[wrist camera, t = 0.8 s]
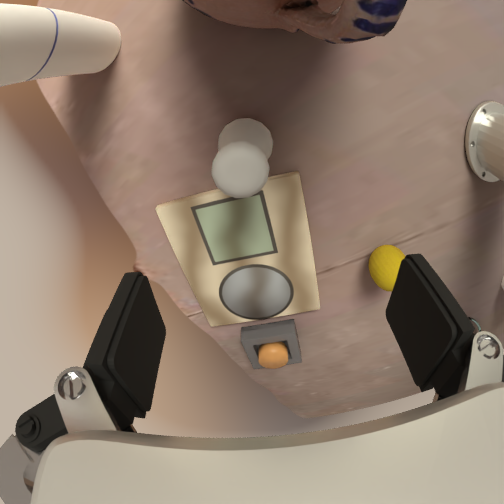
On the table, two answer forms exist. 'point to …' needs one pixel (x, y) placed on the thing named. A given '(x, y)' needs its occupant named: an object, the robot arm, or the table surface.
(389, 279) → the lemon
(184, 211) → the picture board
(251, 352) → the button housing
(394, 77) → the table surface
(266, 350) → the button
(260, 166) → the salt shaker
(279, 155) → the table surface
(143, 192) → the table surface
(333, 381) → the table surface
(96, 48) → the cylindrical container
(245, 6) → the ceramic pitcher
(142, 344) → the robot arm
